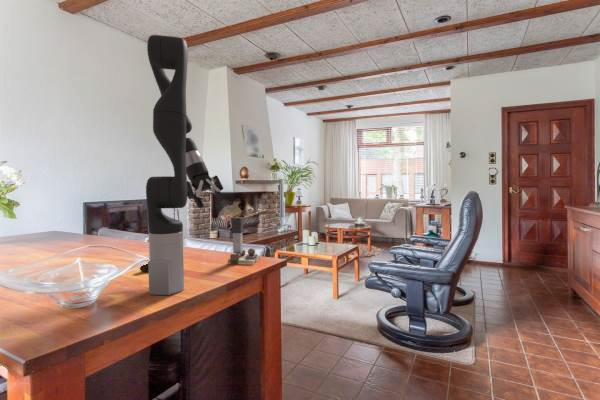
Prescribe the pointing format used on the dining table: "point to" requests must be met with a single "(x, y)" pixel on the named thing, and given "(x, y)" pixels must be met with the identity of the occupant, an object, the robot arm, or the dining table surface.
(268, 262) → the dining table surface
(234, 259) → the cracker base
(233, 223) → the lever
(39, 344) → the dining table surface
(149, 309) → the dining table surface
